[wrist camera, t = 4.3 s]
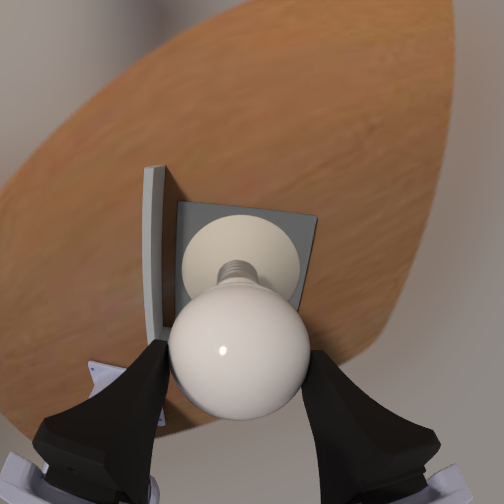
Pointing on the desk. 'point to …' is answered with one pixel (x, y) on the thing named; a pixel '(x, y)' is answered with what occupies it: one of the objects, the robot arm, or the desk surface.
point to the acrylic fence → (153, 252)
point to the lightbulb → (239, 347)
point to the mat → (241, 247)
